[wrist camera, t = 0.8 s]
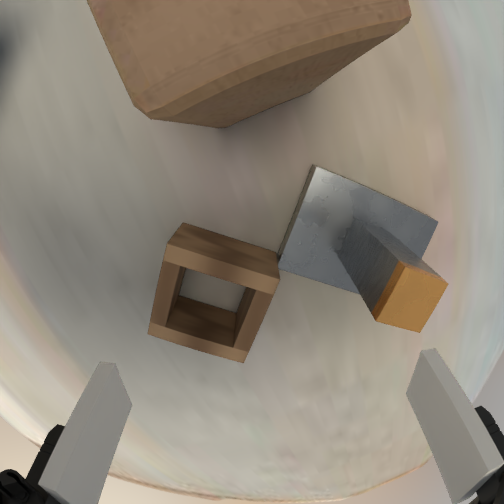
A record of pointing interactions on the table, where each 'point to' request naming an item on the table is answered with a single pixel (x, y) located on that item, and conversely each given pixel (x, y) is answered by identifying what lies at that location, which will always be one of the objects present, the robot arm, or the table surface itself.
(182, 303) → the wooden cube shelf
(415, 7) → the table surface
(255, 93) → the block
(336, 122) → the table surface
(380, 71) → the table surface
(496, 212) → the table surface
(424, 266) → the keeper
